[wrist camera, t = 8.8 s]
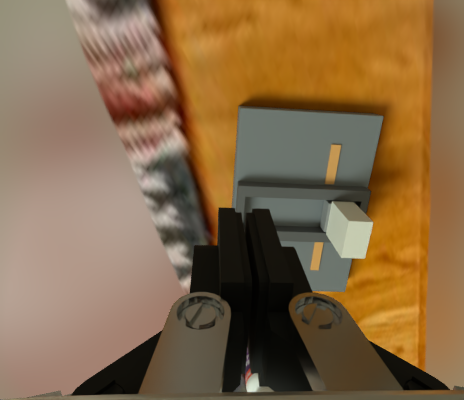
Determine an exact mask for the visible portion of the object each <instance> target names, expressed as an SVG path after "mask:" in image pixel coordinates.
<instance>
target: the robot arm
mask: <svg viewBox="0 0 464 400" xmlns="http://www.w3.org/2000/svg"><path fill="white" fill-rule="evenodd" d="M247 347H248V354H249V363H250V371H251V373H258V380H259V387H269V388H270V389H272V390H273V391H274V392H233V391H234V390H235V389H236V388H237V387H238V386H239V385H240V380H241V374H245V371H246V359H247ZM1 400H464V387H459V386H454V388H453V390H450V389H449V388H448V387H447V386H446V385H445V384H443V383H442V382H440V381H439V380H438V379H436V378H435V377H433V376H431V375H429V374H428V373H426V372H424V371H422V370H421V369H419V368H417V367H415V366H413V365H412V364H410V363H408V362H406V361H404V360H403V359H401V358H399V357H397V356H396V355H394V354H392V353H390V352H388V351H387V350H385V349H383V348H381V347H380V346H378V345H376V344H374V343H372V342H371V341H369V340H368V339H367V338H366V337H365V335H364V334H363V332H362V331H361V330H360V328H359V327H358V325H357V324H356V323H355V321H354V320H353V318H352V317H351V316H350V314H349V313H348V311H347V310H346V309H345V308H344V306H343V305H342V304H341V303H340V302H338V301H337V300H335V299H334V298H332V297H329V296H327V295H324V294H319V293H313V292H312V289H311V287H310V284H309V282H308V279H307V277H306V274H305V272H304V269H303V267H302V264H301V262H300V259H299V257H298V254H297V252H296V249H295V248H294V247H286V246H281V243H280V240H279V237H278V234H277V231H276V228H275V225H274V222H273V219H272V216H271V213H270V210H269V209H260V208H252V213H247V212H246V216H245V231H244V226H243V220H242V214H241V212H235V208H219V212H218V244H217V246H209V245H195V246H194V256H193V266H192V275H191V285H190V294H187V295H185V296H183V297H181V298H179V299H178V300H177V301H176V302H175V303H174V304H173V306H172V308H171V310H170V312H169V315H168V318H167V320H166V323H165V325H164V328H163V330H162V331H160V332H159V333H158V334H156V335H154V336H153V337H151V338H150V339H148V340H147V341H145V342H144V343H142V344H141V345H139V346H138V347H136V348H135V349H133V350H132V351H130V352H129V353H127V354H126V355H124V356H122V357H121V358H119V359H118V360H116V361H115V362H113V363H112V364H110V365H109V366H107V367H106V368H104V369H103V370H101V371H100V372H98V373H97V374H95V375H94V376H92V377H91V378H89V379H88V380H86V381H85V382H84V383H82V384H81V385H80V386H79V387H77V388H76V389H75V391H74V392H73V393H72V394H69V395H64V396H62V395H61V391H56V392H51V393H46V394H42V395H37V396H32V397H27V398H17V399H1Z"/></svg>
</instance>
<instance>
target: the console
mask: <svg viewBox="0 0 464 400" xmlns="http://www.w3.org/2000/svg"><path fill="white" fill-rule="evenodd" d="M383 117H384V116H381V115H378V114H373V113H356V112H339V111H321V110H304V109H287V108H270V107H253V106H239V108H238V123H237V138H236V153H235V168H234V183H233V198H232V208H235V212H241V214H242V220H243V226H244V231H245V216H246V212H247V213H252V208H260V209H269V210H270V213H271V216H272V219H273V222H274V225H275V228H276V231H277V234H278V237H279V240H280V243H281V246H286V247H294V248H295V249H296V252H297V254H298V257H299V259H300V262H301V264H302V267H303V269H304V272H305V274H306V277H307V279H308V282H309V284H310V287H311V289H312V291H338V292H345V289H346V284H347V280H348V275H349V271H350V266H351V262H352V258H341V257H340V255H339V254H338V252H337V251H336V249H335V247H334V246H333V244H332V243H331V241H330V240H329V238H328V237H327V235H326V232H324V231H323V230H322V228H321V227H320V221H321V215H322V209H323V204H324V200H337V201H353V202H354V203H355V204H356V205H357V206H358V207H359V208H360V209H361V210H362V211H363V212H364V213H365V214H366V212H367V207H368V203H369V198H370V194H371V191H370V190H369V189H368V185H369V180H370V176H371V171H372V167H373V162H374V158H375V153H376V149H377V144H378V140H379V135H380V130H381V126H382V121H383Z"/></svg>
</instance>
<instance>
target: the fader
mask: <svg viewBox="0 0 464 400" xmlns="http://www.w3.org/2000/svg"><path fill="white" fill-rule="evenodd" d="M372 226H373V221H372V220H371V219H370V218H369V217H368V216H367V215H366V214H365V213H364V212H363V211H362V210H361V209H360V208H359V207H358V206H357V205H356V204H355V203H354V202H353V201H337V200H324V204H323V209H322V215H321V221H320V227H321V228H322V230H323V231H324V232H326V235H327V237H328V238H329V240H330V241H331V243H332V244H333V246H334V247H335V249H336V251H337V252H338V254H339V255H340V257H341V258H363V259H365V256H366V251H367V247H368V243H369V239H370V235H371V230H372Z"/></svg>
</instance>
